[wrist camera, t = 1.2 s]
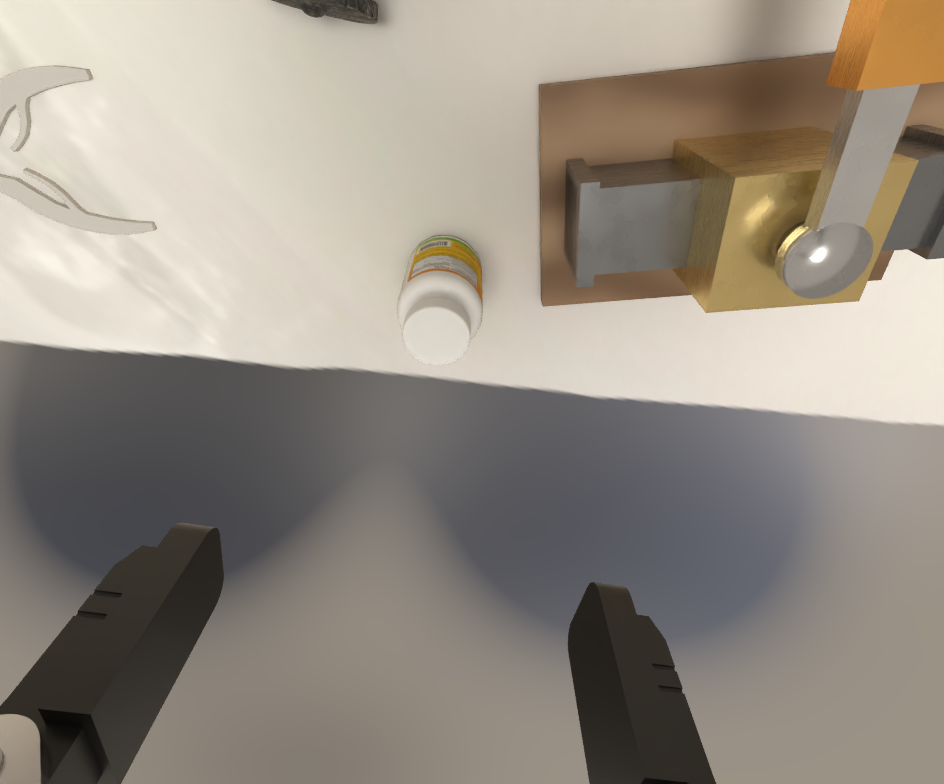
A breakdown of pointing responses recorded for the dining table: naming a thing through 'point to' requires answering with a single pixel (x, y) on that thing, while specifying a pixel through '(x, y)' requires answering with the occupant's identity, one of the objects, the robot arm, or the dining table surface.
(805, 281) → the valve lever
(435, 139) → the dining table surface
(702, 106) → the walnut board
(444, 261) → the supplement bottle
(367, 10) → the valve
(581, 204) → the valve and pipe
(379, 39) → the dining table surface
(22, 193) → the pliers
